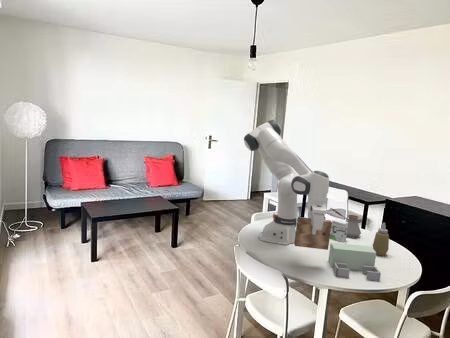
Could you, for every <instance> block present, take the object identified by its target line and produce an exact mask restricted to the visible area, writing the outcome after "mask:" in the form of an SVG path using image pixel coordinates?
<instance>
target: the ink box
mask: <svg viewBox="0 0 450 338" xmlns="http://www.w3.org/2000/svg"><path fill="white" fill-rule="evenodd" d="M331 222H332V226H331V233H330V239H331V240H334V241H338V242H339V243H344V242H346V241H347V236H346V235H347V228H348V222H347V220H343V219H342V220H341V219H338V218H335V219H332V220H331Z"/></svg>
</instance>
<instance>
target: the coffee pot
mask: <svg viewBox="0 0 450 338" xmlns="http://www.w3.org/2000/svg"><path fill="white" fill-rule="evenodd" d="M331 210H332V211H333V212H334V213H335V214H337V215H338V216H341V217H342V218H344V219H345V221H346V222H348V228H347V235H346V238H352V239H353V238H355V239H357V238H358V237H359V236H361V234H362V231H361V228H360V226H359V222H358V219H359V218H360V217H359V216H358V215H356V214H355V215H354V214H348V215H347V217H348V218H347V217H346V216H344V215H343V214H341V213H340V212H339V211H337V210H336V209H335V208H334V209H333V208H332V207H330V209H329V211H331Z"/></svg>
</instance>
